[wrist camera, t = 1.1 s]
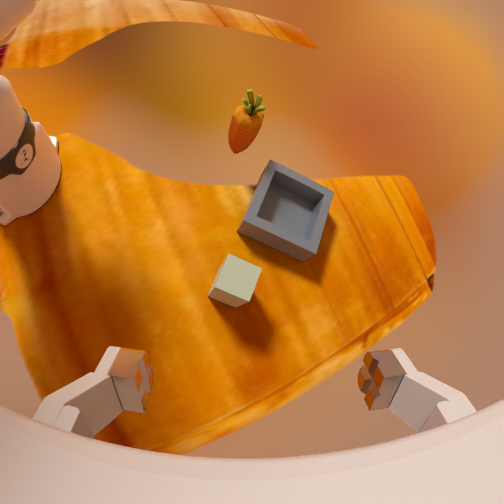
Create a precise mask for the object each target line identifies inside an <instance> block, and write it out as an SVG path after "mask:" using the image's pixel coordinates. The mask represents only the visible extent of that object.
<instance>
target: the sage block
mask: <svg viewBox="0 0 504 504" xmlns="http://www.w3.org/2000/svg"><path fill="white" fill-rule="evenodd" d="M261 270H262V268H260V267H258V266H255V265H253V264H251V263H249V262H246V261H244V260H242V259H240V258H237V257H235V256H233V255H231V254H228V256H227V257H226V259H225V260H224V262H223V264H222V265H221V267H220V268H219V270H218V272H217V275H216V277H215V279H214V282H213V284H212V287H211V289H210V291H209V294H208V297H211V298H213V299H215V300H218V301H220V302H222V303H225V304H227V305H230V306H232V307H234V308H236V307H238V306H241V305H243V304H245V303H248V302H249V301H250V299H251V296H252V294H253V291H254V288H255V286H256V283H257V280H258V278H259V275H260V273H261Z"/></svg>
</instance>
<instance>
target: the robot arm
mask: <svg viewBox="0 0 504 504" xmlns="http://www.w3.org/2000/svg"><path fill="white" fill-rule="evenodd" d="M37 2H38V0H0V41H1V40H2V39H4V38H5V37H6V36H7V35H8V34H9V33H10V32H11V31H12V30H13V29H15V28H16V27H17V26H18V25H19V24H20V23H21V22H22V21H23V20H24V19H26V18H27V17H28V16H29V15H30V14H31V13H32V12H33V11H34V8H35V6H36V4H37ZM57 151H58V140H57V138H56V137H53V136H48V135H47V133H46V131H45V130H44V128H43V127H42V125H41V124H40V123H39V122H33V121H32V119H31V117H30V115H29V114H28V113H27V111H26V110H25V109H24V108H22V107H21V105H20V103H19V101H18V99H17V96H16V94H15V92H14V90H13V88H12V85H11V83H10V82H9V80H8V79H7V78H5V77H4V76H2V75H0V223H1V224H2V225H7V224H9V223H10V222H11V221H13V220H14V219H15V218H17V217H21V216H25V215H28V214H30V213H32V212H34V211H36V210H37V209H38V208H40V207H41V206H42V205H43V204H44V203H45V202H46V201H47V200H48V199H49V198H50V196H51V195H52V193H53V192H54V190H55V188H56V186H57V184H58V181H59V178H60V173H61V163H60V159H59V156H58V152H57ZM2 213H3V214H2ZM1 214H2V216H1ZM149 361H150V357H149V353H148V352H147V351H144V350H136V349H129V348H121V347H115V346H110V347H108V348H107V350H106V352H105V354H104V355H103V357H102V359H101V361H100V362H99V364H98V366H97V368H96V370H95V372H94V373H93V372H90V373H88V374H86V375H84V376H83V377H81V378H79V379H77V380H75V381H74V382H72V383H70V384H68V385H66V386H64V387H63V388H61V389H59V390H57V391H55V392H53V393H52V394H50V395H48V396H46V397H45V398H44V399H43V401H42V403H41V404H40V406H39V408H38V410H37V411H36V413H35V415H34V416H33V418H30V417H27V416H25V415H22V414H20V413H18V412H15V411H13V410H11V409H9V408H6V407H4V406H2V405H0V504H504V399H503V400H501V401H499V402H497V403H495V404H493V405H491V406H488V407H486V408H484V409H482V410H479V411H476V410H475V409H474V407H473V406H472V404H471V403H470V402H469V400H468V399H467V397H466V396H465V394H463V393H461V392H460V391H458V390H456V389H454V388H452V387H450V386H448V385H446V384H444V383H442V382H440V381H438V380H436V379H434V378H432V377H430V376H428V375H426V374H425V373H423V372H418V371H417V370H416V368H415V367H414V366H413V364H412V363H411V361H410V360H409V358H408V357H407V355H406V354H405V353H404V351H403V350H402V349H401V348H397V349H390V350H384V351H374V352H367V353H366V354H365V356H364V358H363V361H364V364H365V365H363V366H362V367H361V368H360V370H359V374H358V385H359V388H360V391H361V392H363V393H365V394H366V396H365V398H364V400H365V402H366V404H367V406H368V409H369V410H370V411H371V410H378V409H384V408H388V409H389V410H390V411H392V412H393V413H394V414H395V415H396V416H398V417H399V418H400V419H402V420H403V421H404V422H405V423H407V424H408V425H409V426H410V427H412V428H413V429H414V430H416V431H417V432H418V433H417V434H414V435H410V436H407V437H403V438H399V439H395V440H392V441H388V442H383V443H379V444H374V445H370V446H365V447H360V448H355V449H349V450H343V451H337V452H330V453H323V454H314V455H304V456H292V457H276V458H216V457H199V456H188V455H178V454H170V453H162V452H155V451H149V450H143V449H137V448H132V447H127V446H122V445H117V444H113V443H108V442H104V441H100V440H96V439H95V438H94V436H95V435H96V434H97V433H98V432H100V431H101V430H102V429H103V428H104V427H105V426H107V425H108V424H109V423H110V422H111V421H112V420H114V419H115V418H116V417H117V416H118V415H119V414H121V413H122V412H123V410H126V411H133V412H140V413H145V409H146V406H147V403H148V397H147V394H148V393H150V392H151V389H152V385H153V372H152V368H151V367H150V366H149V365H148V364H149Z"/></svg>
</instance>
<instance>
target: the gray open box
mask: <svg viewBox="0 0 504 504" xmlns="http://www.w3.org/2000/svg"><path fill="white" fill-rule="evenodd" d="M333 193H334V192H333V191H331V190H330V189H328V188H326V187H324V186H322V185H320V184H318V183H316V182H314V181H313V180H311V179H309V178H307V177H304V176H303V175H301V174H299V173H297V172H295V171H293V170H291V169H289V168H287V167H285V166H283V165H280V164H278V163H277V162H274V161H272V160H270V161H269V163H268V164H267V166H266V168H265V169H264V171H263V173H262V175H261V177H260V180H259V182H258V184H257V186H256V188H255V191H254V193H253V195H252V198H251V200H250V202H249V204H248V207H247V209H246V211H245V214H244V216H243V218H242V220H241V223H240V225H239V227H238V230H237V232H238V233H241V234H243V235H245V236H247V237H249V238H252V239H254V240H256V241H258V242H260V243H263V244H265V245H267V246H269V247H271V248H274V249H276V250H278V251H280V252H282V253H285V254H287V255H289V256H291V257H293V258H295V259H298V260H300V261H302V262H304V261H306V260H307V259H309V258H311V257H312V256H314V255H316V253H317V250H318V247H319V243H320V240H321V236H322V233H323V229H324V226H325V222H326V219H327V215H328V212H329V208H330V204H331V201H332V197H333Z"/></svg>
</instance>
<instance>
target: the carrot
mask: <svg viewBox="0 0 504 504" xmlns="http://www.w3.org/2000/svg"><path fill="white" fill-rule="evenodd" d="M247 93H248V98H249V103H250V104H248V102H247V100H246V99H242V100H243V102H244V104H245V105H241V106H238V107H236V109H235V112H234V114H233V117H232V120H231V124H230V128H229V145H230V148H231V149H232V151H233V153H236V154H237V153H239V152H241V151H243V150H245V149H247V148H248V146H249V145H250V144H251V143H252V142H253V141H254V139H255V137H256V135H257V134H258V131H259V130H260V127H261V125H262V121H263V118H264V115H263V113H262V112H261V111H264V110H265V106H260V104H261V101H262V96H260V95H257V99H256V104H255V106H254V95H253V92H252V90H251V89H250V90H247Z"/></svg>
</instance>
